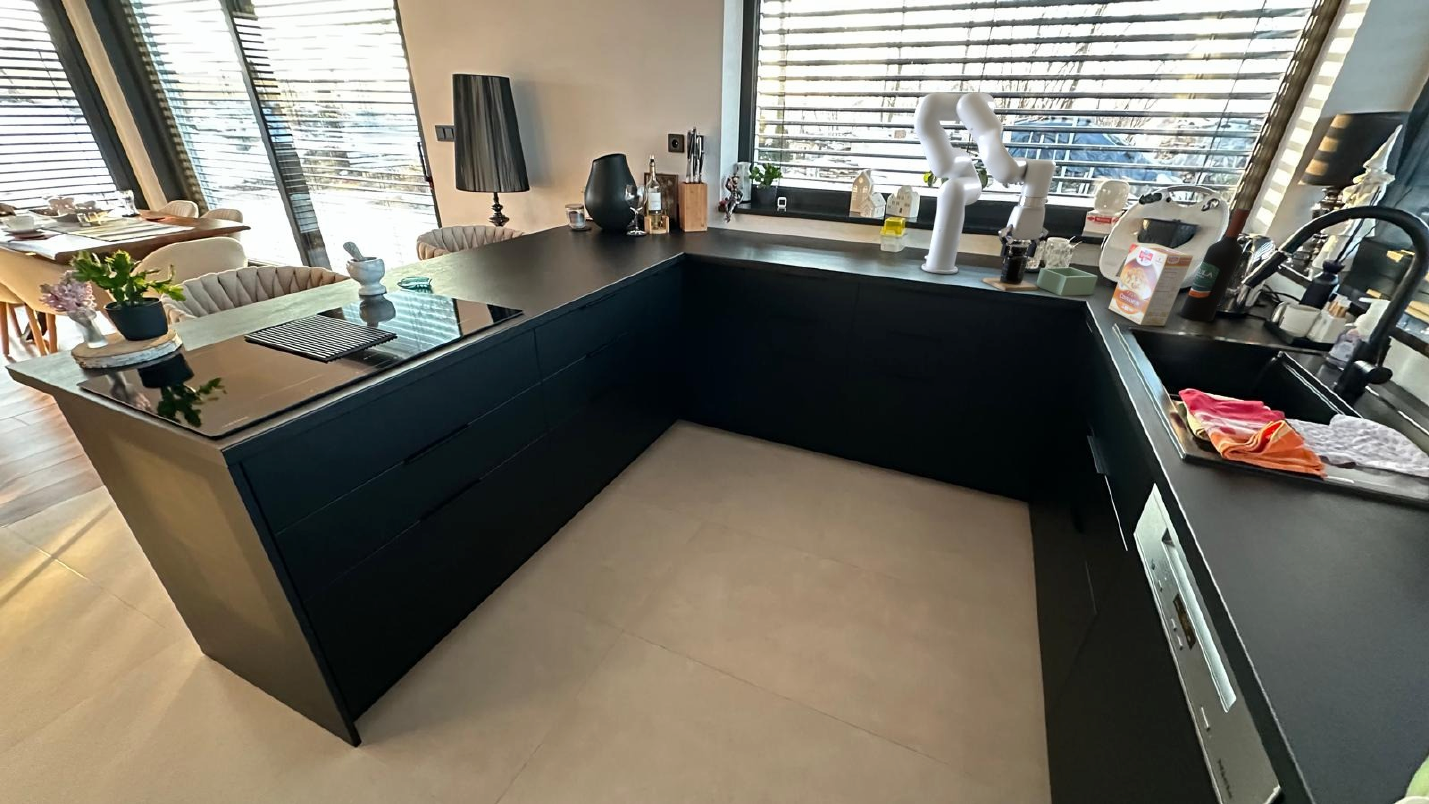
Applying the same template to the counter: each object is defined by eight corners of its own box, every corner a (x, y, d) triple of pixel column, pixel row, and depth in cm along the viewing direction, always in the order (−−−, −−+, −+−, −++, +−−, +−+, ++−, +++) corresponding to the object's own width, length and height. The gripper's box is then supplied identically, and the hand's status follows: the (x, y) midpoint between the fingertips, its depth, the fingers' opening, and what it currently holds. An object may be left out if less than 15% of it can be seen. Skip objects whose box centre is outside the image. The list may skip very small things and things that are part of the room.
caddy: (1035, 285, 188) (1040, 268, 185) (1065, 284, 190) (1071, 267, 187) (1060, 295, 178) (1066, 277, 175) (1091, 294, 180) (1098, 276, 177)
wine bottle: (1214, 323, 156) (1265, 212, 142) (1181, 318, 160) (1227, 209, 146) (1210, 316, 162) (1259, 208, 148) (1178, 311, 166) (1223, 206, 152)
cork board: (982, 281, 191) (983, 277, 191) (1013, 280, 193) (1014, 276, 193) (1004, 291, 181) (1005, 287, 180) (1037, 290, 183) (1038, 286, 182)
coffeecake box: (1107, 308, 167) (1131, 242, 158) (1131, 309, 167) (1156, 243, 157) (1139, 325, 153) (1167, 254, 144) (1165, 326, 153) (1195, 255, 144)
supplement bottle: (1017, 279, 189) (1026, 244, 184) (1024, 285, 183) (1035, 248, 178) (996, 278, 190) (1005, 243, 184) (1003, 284, 184) (1013, 247, 178)
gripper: (1047, 200, 180) (1032, 254, 188) (999, 200, 177) (986, 255, 185) (1064, 204, 173) (1047, 259, 181) (1015, 204, 170) (1000, 260, 178)
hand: (1016, 257), depth 183 cm, fingers open, 9 cm apart
